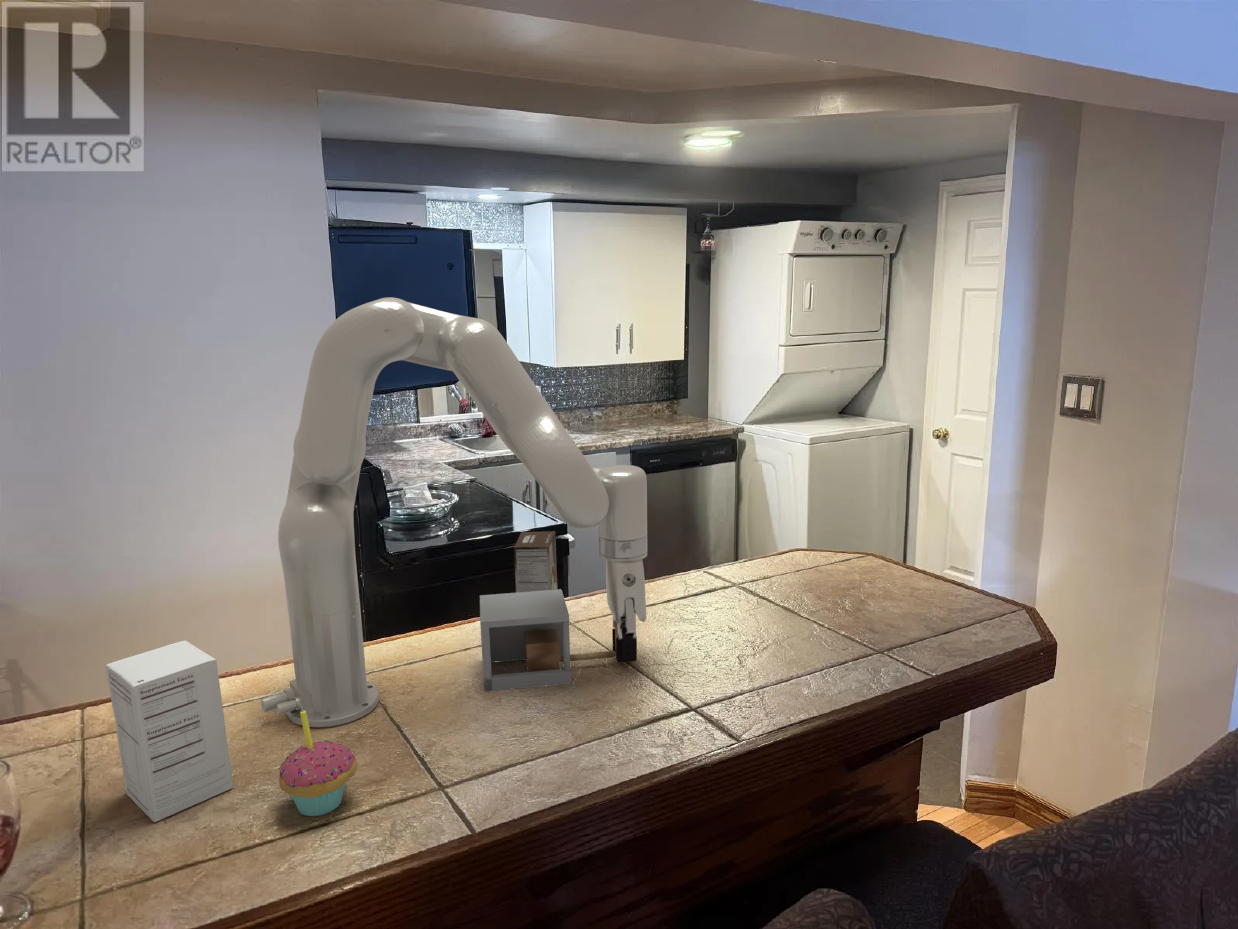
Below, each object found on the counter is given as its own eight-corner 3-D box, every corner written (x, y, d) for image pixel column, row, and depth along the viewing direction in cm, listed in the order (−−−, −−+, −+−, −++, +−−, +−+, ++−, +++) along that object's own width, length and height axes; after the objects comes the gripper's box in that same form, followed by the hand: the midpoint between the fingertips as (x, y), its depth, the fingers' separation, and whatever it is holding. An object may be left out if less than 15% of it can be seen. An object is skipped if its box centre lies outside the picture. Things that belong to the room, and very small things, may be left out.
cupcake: (266, 810, 96) (255, 715, 93) (328, 775, 103) (319, 685, 100) (313, 836, 91) (303, 736, 89) (375, 797, 98) (367, 704, 96)
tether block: (527, 675, 127) (526, 638, 126) (525, 661, 132) (524, 625, 131) (636, 664, 130) (635, 629, 129) (630, 651, 135) (629, 616, 134)
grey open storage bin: (484, 691, 123) (480, 622, 121) (483, 659, 134) (479, 595, 132) (571, 683, 126) (568, 614, 123) (563, 652, 136) (561, 589, 134)
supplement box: (235, 788, 100) (219, 659, 97) (153, 825, 94) (133, 687, 90) (202, 760, 107) (186, 637, 103) (123, 792, 100) (103, 662, 96)
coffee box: (524, 615, 152) (520, 530, 149) (559, 614, 152) (556, 530, 149) (517, 635, 143) (513, 546, 140) (554, 635, 143) (551, 545, 140)
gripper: (658, 560, 121) (658, 677, 125) (636, 529, 137) (638, 634, 141) (607, 564, 120) (609, 681, 124) (591, 532, 136) (594, 638, 139)
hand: (624, 655), depth 132 cm, fingers closed on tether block, 2 cm apart
